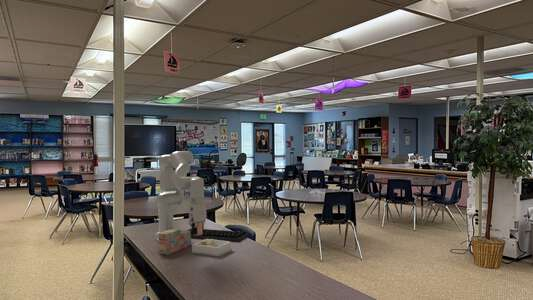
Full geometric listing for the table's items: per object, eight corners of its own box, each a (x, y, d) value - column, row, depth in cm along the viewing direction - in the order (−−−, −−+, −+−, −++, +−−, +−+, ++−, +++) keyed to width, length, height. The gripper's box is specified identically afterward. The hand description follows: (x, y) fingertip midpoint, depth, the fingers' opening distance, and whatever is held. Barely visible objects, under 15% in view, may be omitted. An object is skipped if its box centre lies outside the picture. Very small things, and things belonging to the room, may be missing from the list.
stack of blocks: (183, 244, 232) (183, 225, 232) (191, 245, 229) (190, 226, 229) (158, 253, 214) (158, 232, 213) (167, 255, 211) (166, 233, 210)
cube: (200, 249, 216) (200, 241, 216) (205, 247, 220) (205, 239, 220) (207, 250, 214) (207, 242, 213) (212, 248, 218) (212, 240, 218)
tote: (192, 252, 213) (192, 244, 213) (206, 246, 226) (206, 238, 225) (217, 256, 205) (217, 247, 205) (231, 250, 217) (231, 241, 217)
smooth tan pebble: (191, 234, 200) (191, 222, 200) (197, 232, 204) (196, 220, 204) (198, 235, 198) (198, 222, 197) (204, 233, 202) (204, 221, 202)
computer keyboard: (248, 236, 250) (247, 231, 250) (238, 242, 235) (238, 237, 235) (191, 232, 265) (191, 227, 265) (178, 238, 250) (178, 232, 250)
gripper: (192, 203, 191) (193, 237, 192) (212, 198, 206) (212, 230, 207) (181, 202, 195) (182, 236, 195) (201, 197, 210) (202, 229, 210)
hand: (197, 232), depth 201 cm, fingers closed on smooth tan pebble, 4 cm apart
